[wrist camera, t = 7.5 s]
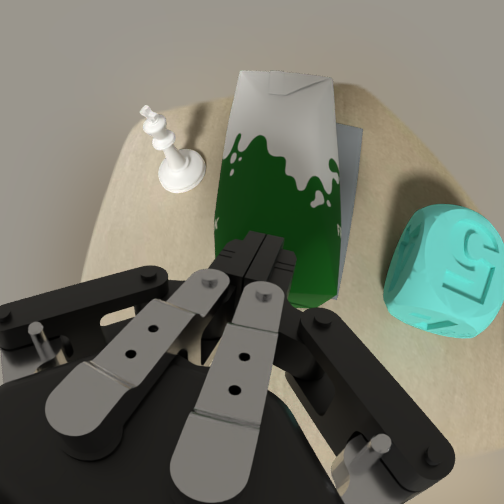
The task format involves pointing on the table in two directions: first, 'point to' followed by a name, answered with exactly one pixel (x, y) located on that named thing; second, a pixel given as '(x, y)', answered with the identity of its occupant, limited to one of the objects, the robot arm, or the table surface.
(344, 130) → the mat
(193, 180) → the chess piece
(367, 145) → the table surface
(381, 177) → the table surface
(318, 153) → the soya milk
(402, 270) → the decorative dice
